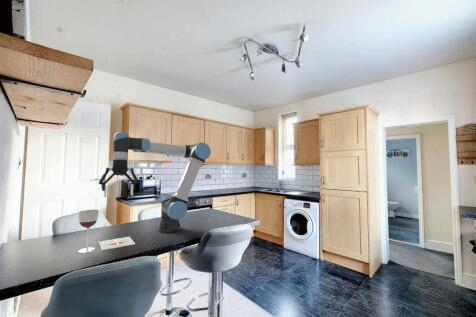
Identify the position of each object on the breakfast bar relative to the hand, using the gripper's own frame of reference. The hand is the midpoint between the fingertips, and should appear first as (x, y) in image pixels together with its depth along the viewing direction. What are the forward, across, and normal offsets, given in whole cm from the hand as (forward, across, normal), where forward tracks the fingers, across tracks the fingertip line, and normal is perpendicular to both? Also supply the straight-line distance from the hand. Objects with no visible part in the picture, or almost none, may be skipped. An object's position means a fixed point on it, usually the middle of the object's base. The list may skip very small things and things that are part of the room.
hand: (118, 196), depth 122 cm
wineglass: (+27, +14, +2) cm, 30 cm away
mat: (+27, 0, 0) cm, 27 cm away
